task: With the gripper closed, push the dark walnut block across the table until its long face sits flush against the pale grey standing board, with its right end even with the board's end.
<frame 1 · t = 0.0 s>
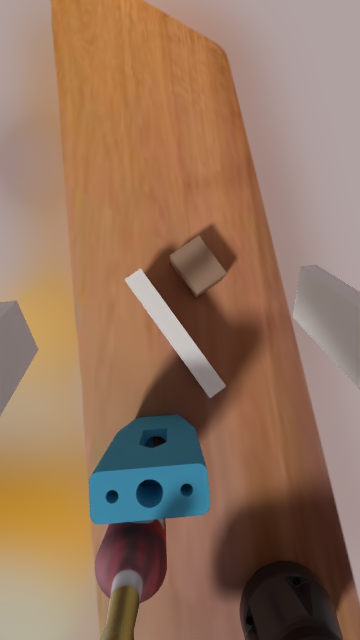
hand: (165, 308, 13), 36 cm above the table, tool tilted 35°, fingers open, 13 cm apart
block: (158, 430, 47), on the table
liquor: (147, 475, 47), on the table
grey board: (174, 334, 49), on the table
walnut block: (195, 272, 50), on the table
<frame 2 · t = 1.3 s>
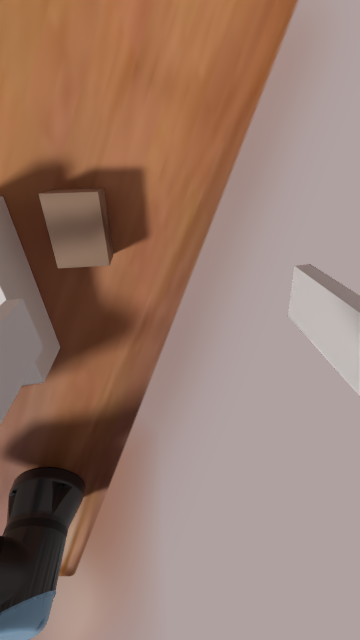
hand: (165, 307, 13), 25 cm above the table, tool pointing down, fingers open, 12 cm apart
grey board: (24, 284, 37), on the table
walnut block: (85, 223, 34), on the table
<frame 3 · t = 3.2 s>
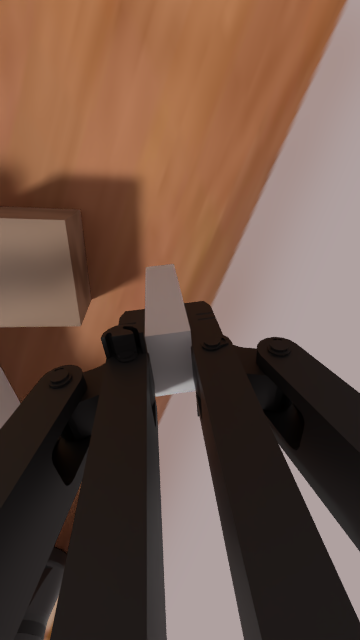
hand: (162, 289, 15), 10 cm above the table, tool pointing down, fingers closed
walnut block: (50, 257, 23), on the table
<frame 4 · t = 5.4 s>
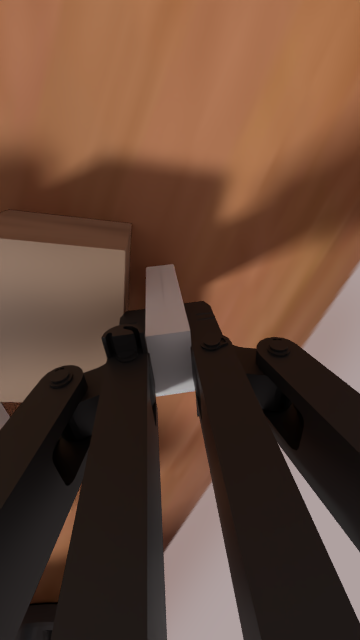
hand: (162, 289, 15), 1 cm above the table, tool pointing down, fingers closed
walnut block: (76, 288, 16), on the table, touching gripper
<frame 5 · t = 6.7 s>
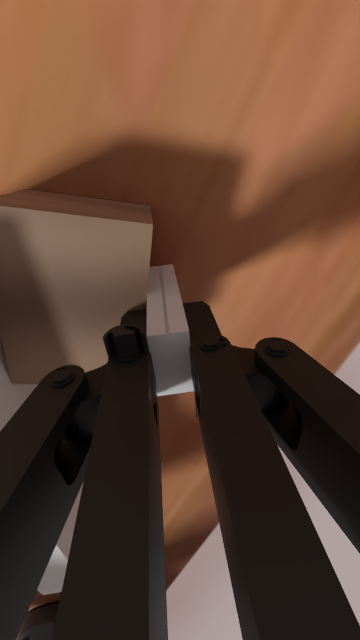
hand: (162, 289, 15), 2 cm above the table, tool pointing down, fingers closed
grey board: (46, 387, 19), on the table
walnut block: (92, 272, 16), on the table, touching grey board, gripper
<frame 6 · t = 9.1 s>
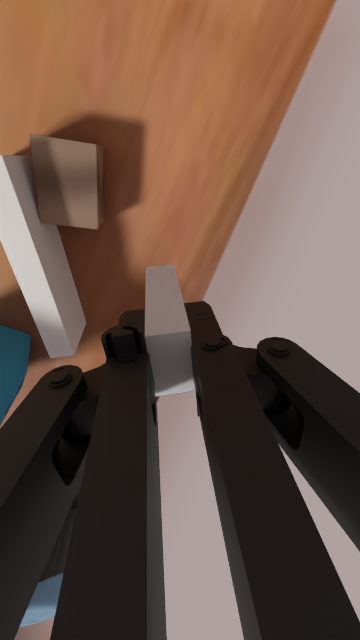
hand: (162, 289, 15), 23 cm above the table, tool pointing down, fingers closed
block: (0, 337, 42), on the table
grey board: (53, 253, 36), on the table
walnut block: (77, 181, 32), on the table
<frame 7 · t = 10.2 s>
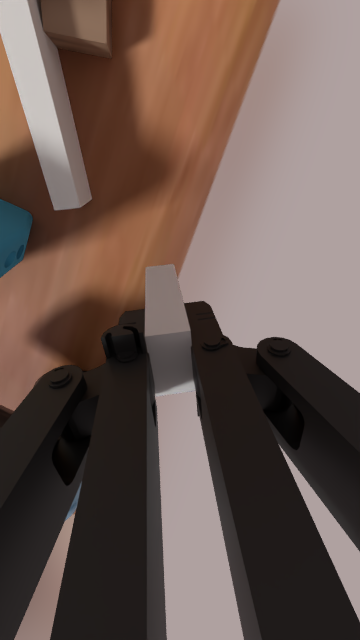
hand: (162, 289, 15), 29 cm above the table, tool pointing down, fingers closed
grey board: (57, 102, 33), on the table
walnut block: (83, 4, 29), on the table
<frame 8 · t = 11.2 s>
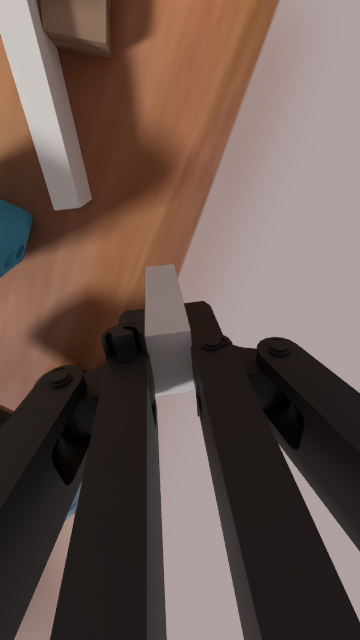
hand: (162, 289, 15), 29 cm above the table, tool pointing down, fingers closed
grey board: (56, 102, 33), on the table
walnut block: (83, 4, 29), on the table
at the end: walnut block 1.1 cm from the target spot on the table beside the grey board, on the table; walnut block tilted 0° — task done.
